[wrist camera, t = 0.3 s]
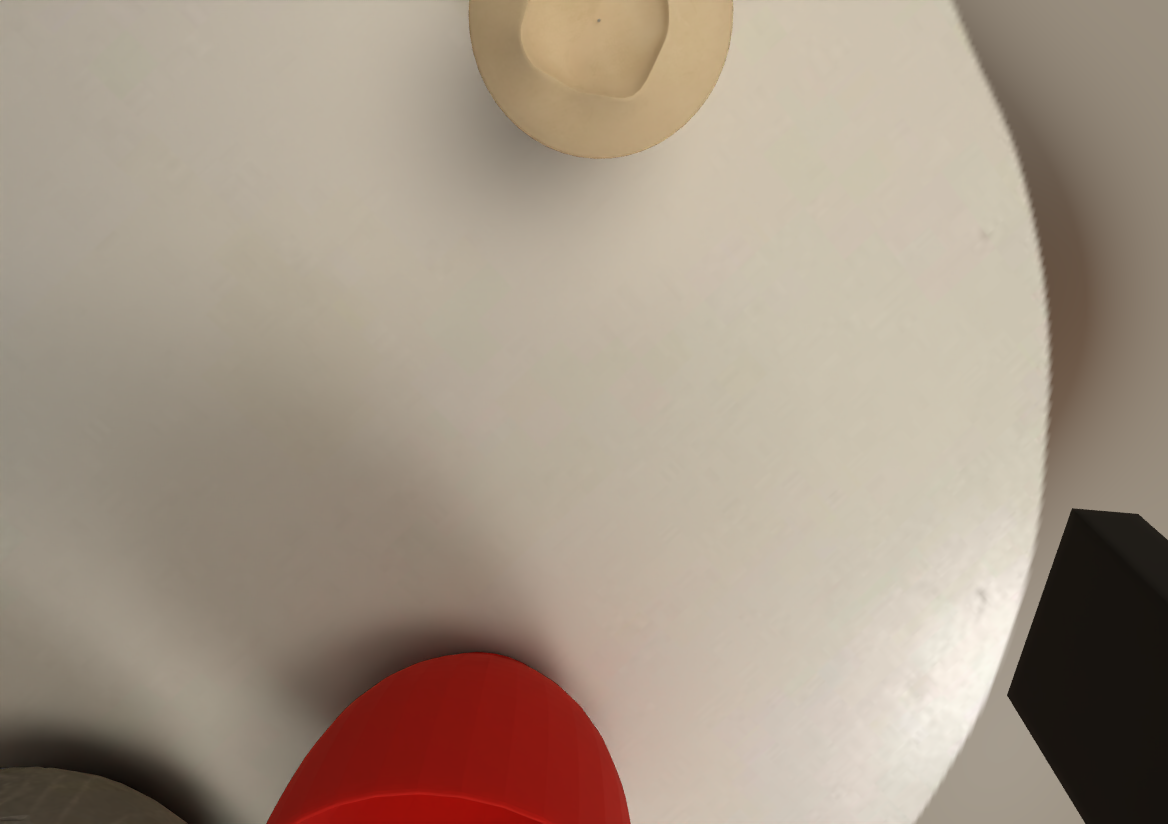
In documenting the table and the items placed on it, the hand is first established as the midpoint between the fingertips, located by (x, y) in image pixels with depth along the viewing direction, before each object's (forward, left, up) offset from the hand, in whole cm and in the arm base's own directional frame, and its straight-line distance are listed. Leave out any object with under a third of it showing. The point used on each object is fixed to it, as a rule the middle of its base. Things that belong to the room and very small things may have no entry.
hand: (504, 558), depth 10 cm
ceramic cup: (+22, -1, -19) cm, 29 cm away
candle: (-6, 0, -19) cm, 20 cm away
